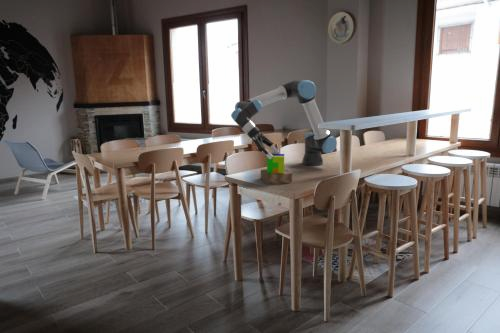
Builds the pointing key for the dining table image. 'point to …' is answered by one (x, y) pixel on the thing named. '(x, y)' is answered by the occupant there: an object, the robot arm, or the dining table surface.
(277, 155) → the puzzle toy
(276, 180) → the walnut block
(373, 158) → the dining table surface
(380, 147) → the dining table surface
